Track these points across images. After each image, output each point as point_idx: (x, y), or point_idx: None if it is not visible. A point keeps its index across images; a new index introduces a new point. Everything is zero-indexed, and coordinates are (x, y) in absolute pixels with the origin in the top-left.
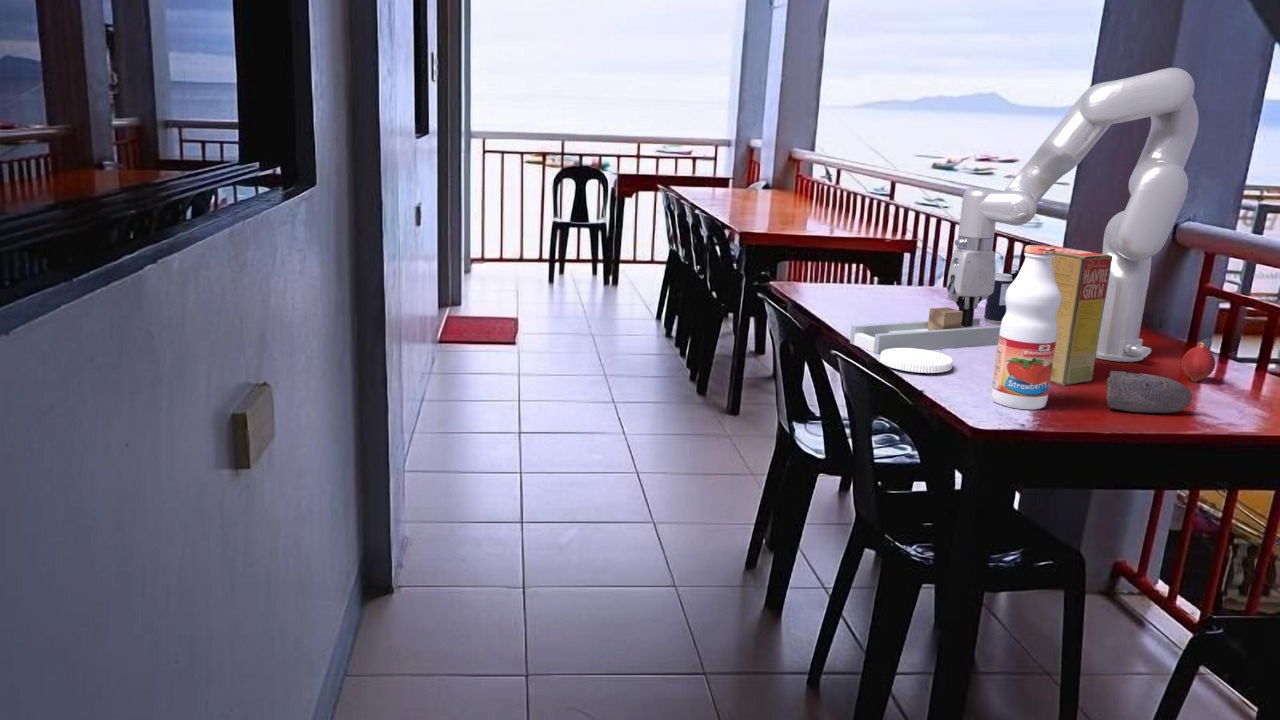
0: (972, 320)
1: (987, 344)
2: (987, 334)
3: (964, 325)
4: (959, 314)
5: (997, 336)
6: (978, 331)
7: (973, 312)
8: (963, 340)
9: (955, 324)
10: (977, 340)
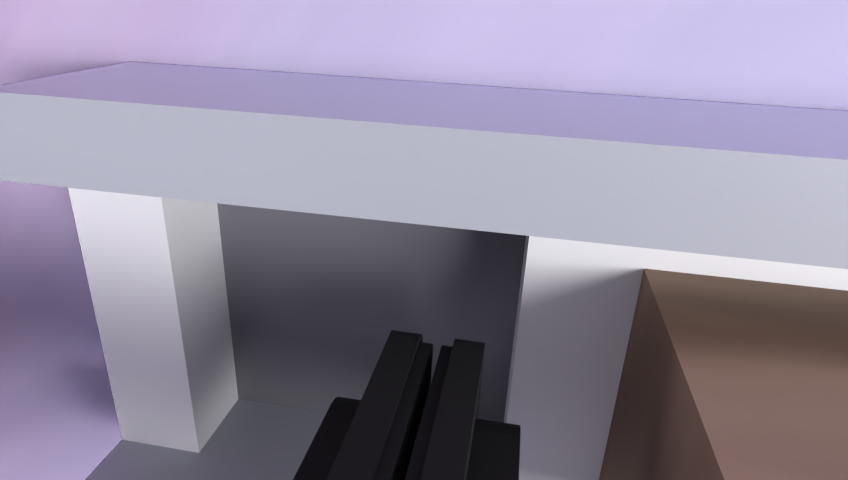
0: (381, 371)
1: (347, 78)
2: (327, 100)
3: (481, 376)
4: (797, 465)
5: (184, 81)
6: (485, 122)
7: (346, 461)
8: (731, 117)
9: (798, 351)
10: (493, 96)
